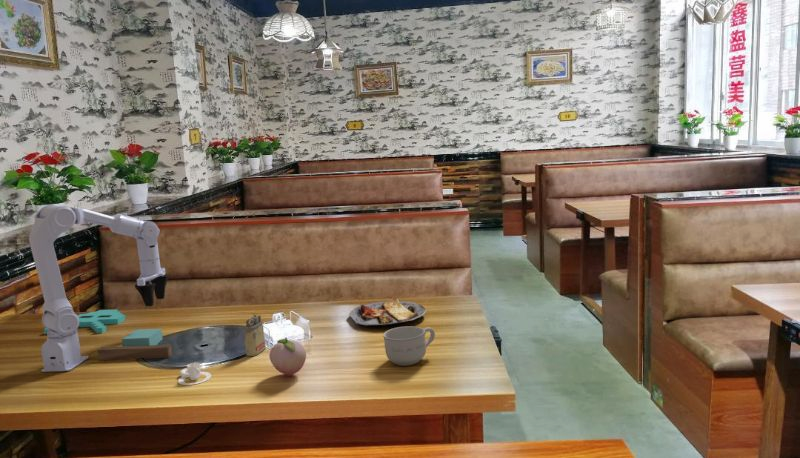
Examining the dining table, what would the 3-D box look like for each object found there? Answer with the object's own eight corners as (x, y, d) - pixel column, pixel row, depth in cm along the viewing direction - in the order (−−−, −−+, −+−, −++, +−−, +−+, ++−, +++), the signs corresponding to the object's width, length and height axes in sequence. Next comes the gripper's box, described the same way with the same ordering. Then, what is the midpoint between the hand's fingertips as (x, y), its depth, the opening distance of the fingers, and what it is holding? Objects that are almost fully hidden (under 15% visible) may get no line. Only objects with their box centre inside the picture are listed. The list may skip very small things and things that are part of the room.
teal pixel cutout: (102, 334, 189) (136, 314, 209) (101, 327, 189) (135, 308, 209) (44, 335, 192) (83, 316, 211) (43, 329, 191) (82, 310, 211)
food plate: (343, 312, 197) (342, 302, 196) (409, 302, 203) (409, 292, 203) (361, 336, 173) (360, 324, 172) (435, 324, 180) (434, 312, 179)
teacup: (391, 372, 145) (389, 341, 144) (380, 357, 155) (378, 328, 154) (444, 363, 149) (442, 333, 147) (430, 348, 159) (429, 320, 158)
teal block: (150, 350, 171) (148, 337, 171) (123, 352, 172) (121, 338, 171) (162, 341, 179) (161, 328, 178) (137, 342, 180) (135, 329, 179)
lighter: (254, 357, 161) (251, 321, 159) (242, 356, 162) (238, 321, 160) (268, 347, 167) (264, 313, 166) (256, 346, 169) (252, 313, 167)
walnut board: (168, 357, 164) (167, 347, 164) (99, 360, 165) (97, 350, 165) (171, 354, 166) (170, 344, 166) (103, 357, 167) (101, 347, 167)
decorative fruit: (315, 374, 147) (311, 336, 145) (287, 386, 141) (283, 346, 139) (293, 365, 153) (290, 328, 152) (266, 375, 148) (262, 337, 146)
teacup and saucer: (178, 376, 152) (176, 361, 151) (210, 370, 154) (208, 355, 154) (178, 389, 144) (176, 373, 143) (212, 382, 146) (210, 367, 146)
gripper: (151, 264, 173) (156, 308, 175) (172, 253, 187) (177, 295, 190) (127, 265, 174) (133, 309, 176) (150, 254, 188) (156, 295, 190)
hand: (155, 302), depth 183 cm, fingers open, 7 cm apart
